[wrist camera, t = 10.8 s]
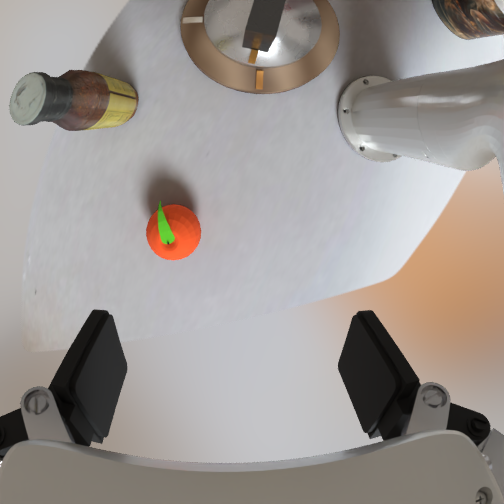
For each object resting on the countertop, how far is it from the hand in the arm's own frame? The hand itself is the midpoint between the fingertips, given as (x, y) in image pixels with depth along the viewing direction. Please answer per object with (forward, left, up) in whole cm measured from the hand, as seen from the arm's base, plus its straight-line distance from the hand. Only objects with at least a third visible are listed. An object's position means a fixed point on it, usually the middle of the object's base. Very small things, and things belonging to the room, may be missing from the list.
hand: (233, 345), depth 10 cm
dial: (-3, -23, -26) cm, 35 cm away
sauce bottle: (+15, -12, -28) cm, 34 cm away
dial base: (-3, -23, -28) cm, 37 cm away
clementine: (+7, +4, -28) cm, 30 cm away
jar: (-38, -39, -28) cm, 61 cm away
